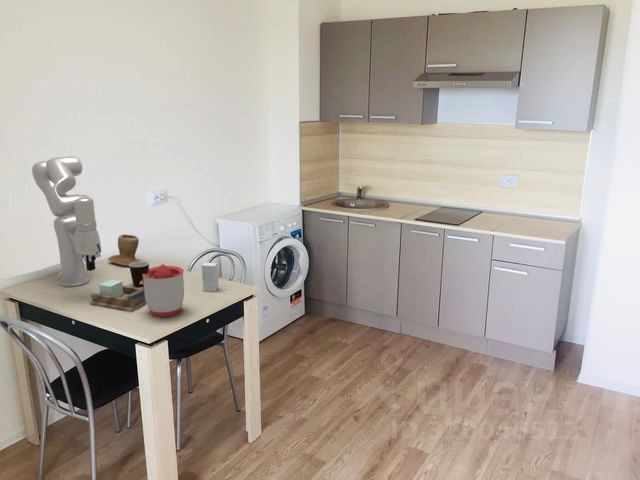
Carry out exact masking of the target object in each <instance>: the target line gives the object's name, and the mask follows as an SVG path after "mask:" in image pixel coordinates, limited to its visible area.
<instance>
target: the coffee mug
mask: <svg viewBox="0 0 640 480" xmlns="http://www.w3.org/2000/svg"><path fill="white" fill-rule="evenodd" d="M138 261H139V260H138ZM148 269H150V262H148V261H143V260H142V261H141V260H140V261H139V262H133V263H130V264H129V271H130V272H129V273H130V276H131V280H132V287H136V288H144V286H143V284H140V282H141V281H143V277H142V274H146V275H147V276H148V277H149V272H148Z"/></svg>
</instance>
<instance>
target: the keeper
mask: <svg viewBox="0 0 640 480" xmlns="http://www.w3.org/2000/svg"><path fill="white" fill-rule="evenodd" d="M98 286H99V289H98V290H99V294H102V295H109V296H115V297H120V296H122V295H123V286H124V285H123V280H117V279H108V280H107V281H105V282H102V283H100V284H99V285H98Z"/></svg>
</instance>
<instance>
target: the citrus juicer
mask: <svg viewBox="0 0 640 480" xmlns="http://www.w3.org/2000/svg"><path fill="white" fill-rule="evenodd" d="M148 272H149V276H147V275H146V274H142V277H143V281H141V282H140V284H143V286H144V287H143V288H144V292H145V299H146V303H147V304H146V306H147V309H148V311H149V313H150V314H151V316H155V317H163V318H164V317H173V316H174V315H177V314H179V313H180V312H181V310H182V308H183V305H184V304H183V303H184V298H185V286H184V285H185V284H184V269H183V268H182V267H179V266H176V265H175V266H174V265H165V264H161V265H158V266H154V267H149V269H148Z"/></svg>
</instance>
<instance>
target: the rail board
mask: <svg viewBox="0 0 640 480" xmlns="http://www.w3.org/2000/svg"><path fill="white" fill-rule="evenodd" d="M90 295H91V297H90V298H91V301H90V302H89V306H93V307H101V308H106V309H111V310H117V311H123V312H128V313H129V312H130V313H133V312H135V311H137V310H139V309H140V308H142V307H144V306H147V303H146V299H145V292H144V287H134V286H130V285H129V286H128V285H123V295H122V296H120V297H115V296H109V295H102V294H100V293H95V292H93V293H91V294H90Z"/></svg>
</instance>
